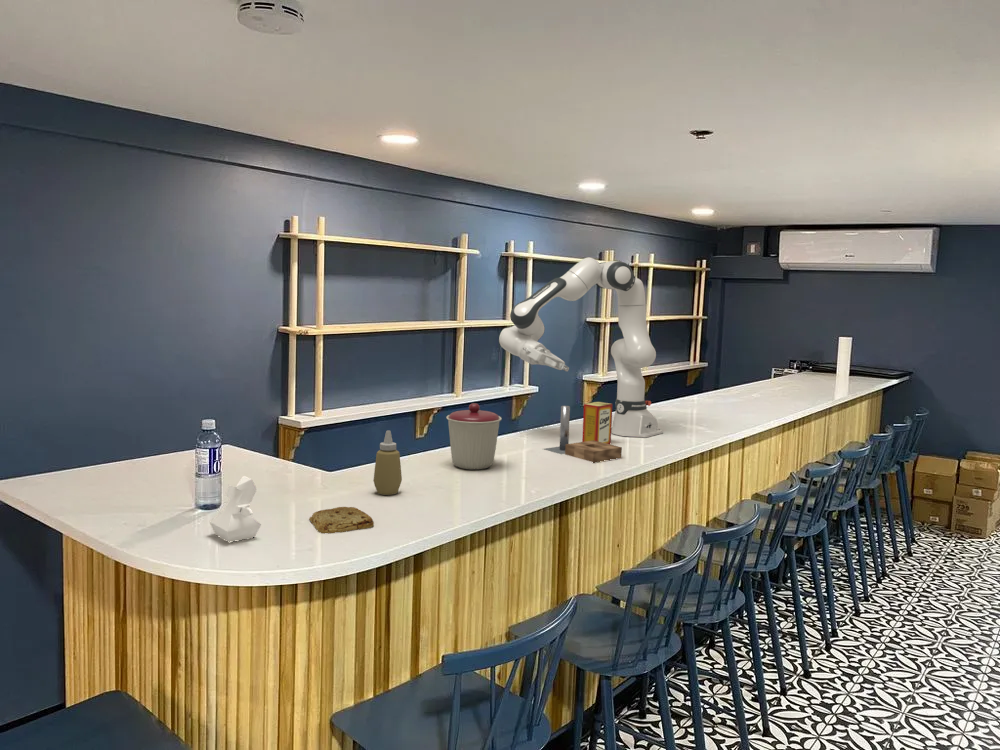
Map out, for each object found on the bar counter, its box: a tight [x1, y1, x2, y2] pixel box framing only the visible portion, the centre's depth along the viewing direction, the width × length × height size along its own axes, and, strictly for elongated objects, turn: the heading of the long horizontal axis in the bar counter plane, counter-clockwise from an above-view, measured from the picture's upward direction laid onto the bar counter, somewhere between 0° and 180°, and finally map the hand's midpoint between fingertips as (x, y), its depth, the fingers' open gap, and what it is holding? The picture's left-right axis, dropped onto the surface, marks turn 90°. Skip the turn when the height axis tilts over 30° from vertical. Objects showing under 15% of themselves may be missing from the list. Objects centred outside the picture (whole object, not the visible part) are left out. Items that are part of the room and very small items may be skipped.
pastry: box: [308, 506, 375, 534], centre depth 197 cm, size 17×17×3 cm
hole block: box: [564, 440, 622, 464], centre depth 281 cm, size 14×14×4 cm
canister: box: [445, 402, 502, 471], centre depth 260 cm, size 18×18×21 cm
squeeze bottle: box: [373, 430, 403, 496], centre depth 225 cm, size 8×8×18 cm
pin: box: [559, 405, 571, 451], centre depth 289 cm, size 3×3×16 cm
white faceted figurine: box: [209, 475, 262, 542], centre depth 184 cm, size 8×14×14 cm, turn 44°
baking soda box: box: [581, 401, 613, 445], centre depth 302 cm, size 10×6×16 cm
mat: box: [543, 445, 565, 455], centre depth 290 cm, size 12×10×1 cm
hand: (562, 367), depth 295 cm, fingers open, 8 cm apart
